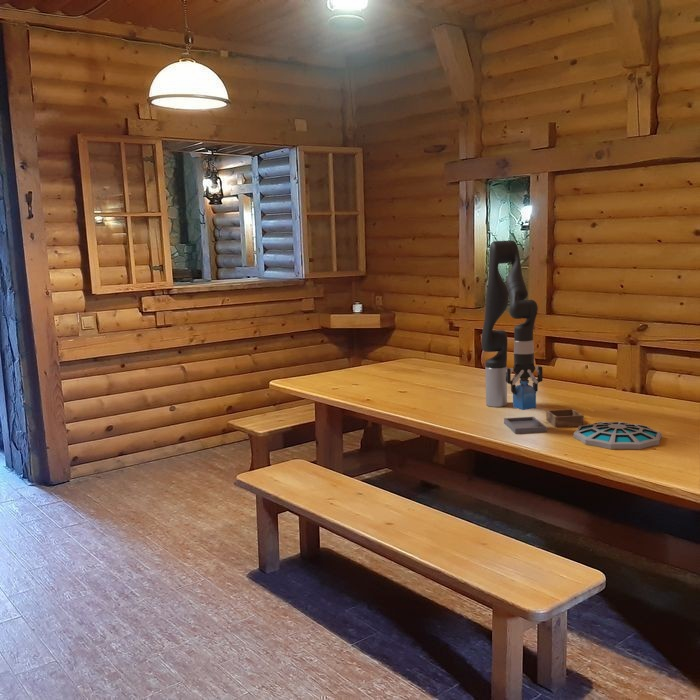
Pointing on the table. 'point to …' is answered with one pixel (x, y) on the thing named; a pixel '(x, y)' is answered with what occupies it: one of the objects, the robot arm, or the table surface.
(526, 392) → the perfume bottle
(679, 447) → the table surface
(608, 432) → the decorative platform
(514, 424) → the tray
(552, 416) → the holder
